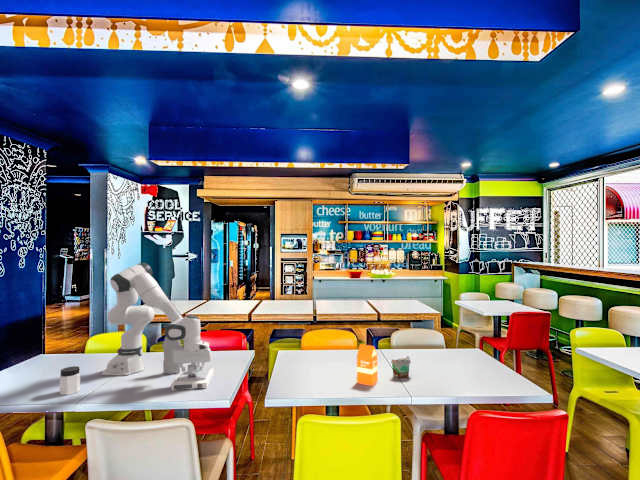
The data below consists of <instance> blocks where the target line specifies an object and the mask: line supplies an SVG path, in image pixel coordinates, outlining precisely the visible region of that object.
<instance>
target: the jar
mask: <svg viewBox="0 0 640 480" xmlns="http://www.w3.org/2000/svg"><path fill="white" fill-rule="evenodd" d="M80 390H81V371H80V366H75V365H74V366H67V367H64V368H62V369H61V370H60V375H59V395H60V396H69V395H73V394H77V393H78V392H79V391H80Z"/></svg>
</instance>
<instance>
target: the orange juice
mask: <svg viewBox="0 0 640 480" xmlns="http://www.w3.org/2000/svg"><path fill="white" fill-rule="evenodd" d="M356 382H357V384H362V385H365V386H372V387H373V385H375V383H377V382H378V353H377V350H376V347H375V346H374V345H369V344H367V345H366V344H363V343H362V344H361V343H360V344H359V347H358V351H357V354H356Z"/></svg>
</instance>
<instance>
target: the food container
mask: <svg viewBox="0 0 640 480" xmlns="http://www.w3.org/2000/svg"><path fill="white" fill-rule="evenodd" d="M390 363H391V366H392V373H393V374H392V376H393V378H396V379H407V378H409V375H410V364H411V358H410V357H409V356H408V355H407V356H406V357H404V358H399V359H392V358H391V362H390Z"/></svg>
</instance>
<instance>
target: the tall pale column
mask: <svg viewBox="0 0 640 480" xmlns="http://www.w3.org/2000/svg"><path fill="white" fill-rule="evenodd" d="M181 343H182V341H180V340H175V341H172V340H169V339H168V338H167V337H166V336H165V337H164V340H163V342H162V349H163V362H162V363H163V365H162V367H163V373H164V375H175V374H174V373H178V374H180V372H181V367H180V366H179V364H174V363H173V348H174V347H175V346H182V344H181Z"/></svg>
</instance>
